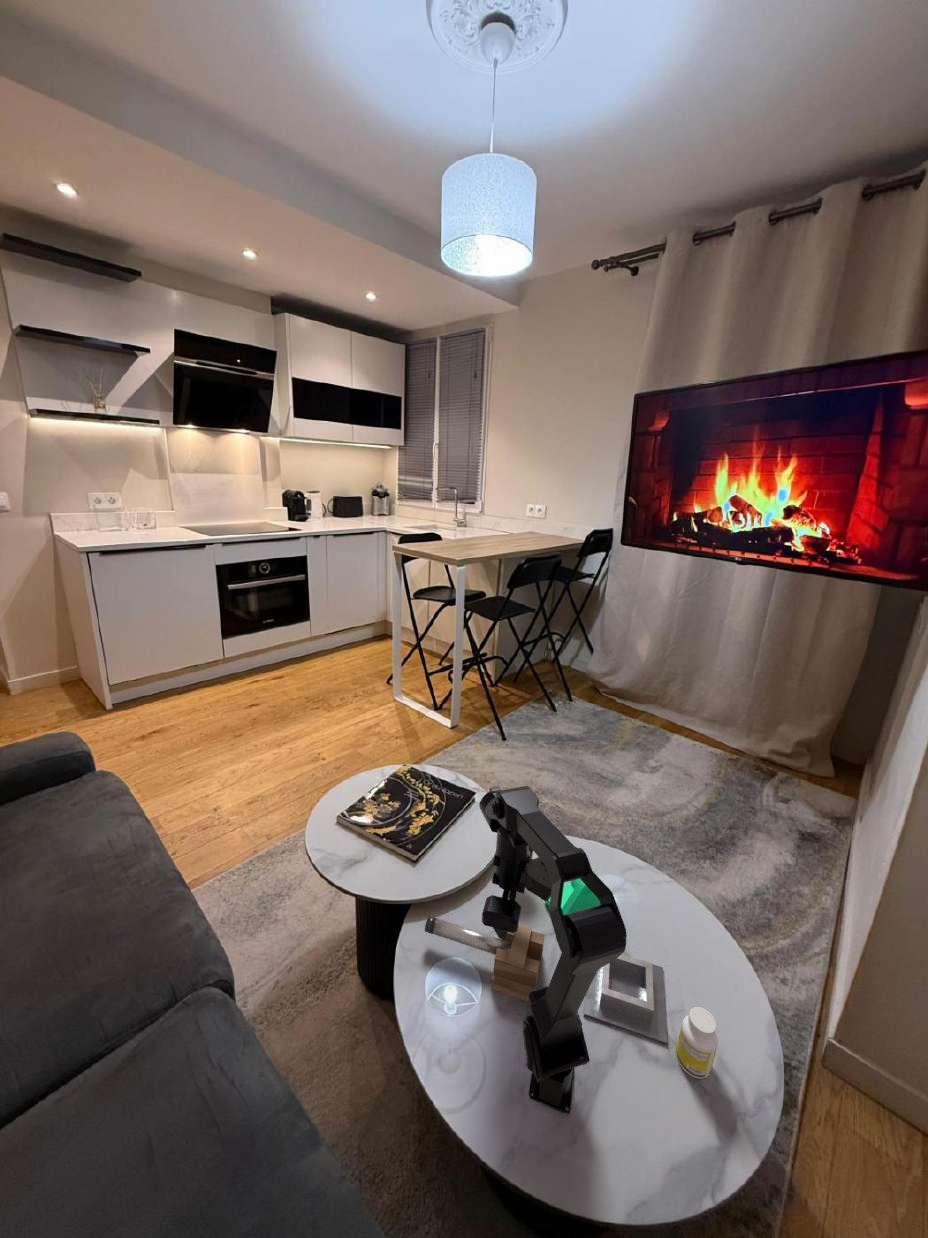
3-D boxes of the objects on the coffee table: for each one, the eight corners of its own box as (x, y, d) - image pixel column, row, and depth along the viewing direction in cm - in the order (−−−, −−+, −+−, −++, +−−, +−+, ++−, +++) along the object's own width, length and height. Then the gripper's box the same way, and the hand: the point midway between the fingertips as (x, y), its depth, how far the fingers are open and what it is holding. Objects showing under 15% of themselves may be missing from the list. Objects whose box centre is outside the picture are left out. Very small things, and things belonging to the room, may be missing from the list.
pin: (513, 950, 96) (514, 939, 95) (509, 964, 94) (510, 952, 93) (430, 923, 101) (430, 912, 100) (424, 935, 99) (424, 924, 98)
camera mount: (585, 885, 116) (590, 850, 113) (606, 911, 109) (612, 874, 106) (542, 901, 111) (545, 865, 108) (561, 929, 105) (566, 892, 101)
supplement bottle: (692, 1037, 85) (702, 997, 82) (718, 1072, 81) (730, 1031, 78) (668, 1049, 83) (677, 1009, 80) (692, 1086, 79) (704, 1044, 76)
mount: (533, 1004, 90) (536, 975, 88) (491, 989, 92) (493, 960, 90) (542, 954, 99) (545, 927, 97) (503, 942, 101) (506, 915, 99)
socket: (666, 1045, 84) (670, 1031, 83) (583, 1016, 88) (586, 1001, 87) (662, 969, 97) (665, 956, 96) (589, 947, 101) (591, 933, 100)
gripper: (550, 902, 78) (543, 975, 83) (561, 826, 96) (554, 890, 100) (483, 885, 81) (479, 957, 86) (505, 814, 98) (501, 876, 103)
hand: (506, 917), depth 93 cm, fingers open, 9 cm apart
